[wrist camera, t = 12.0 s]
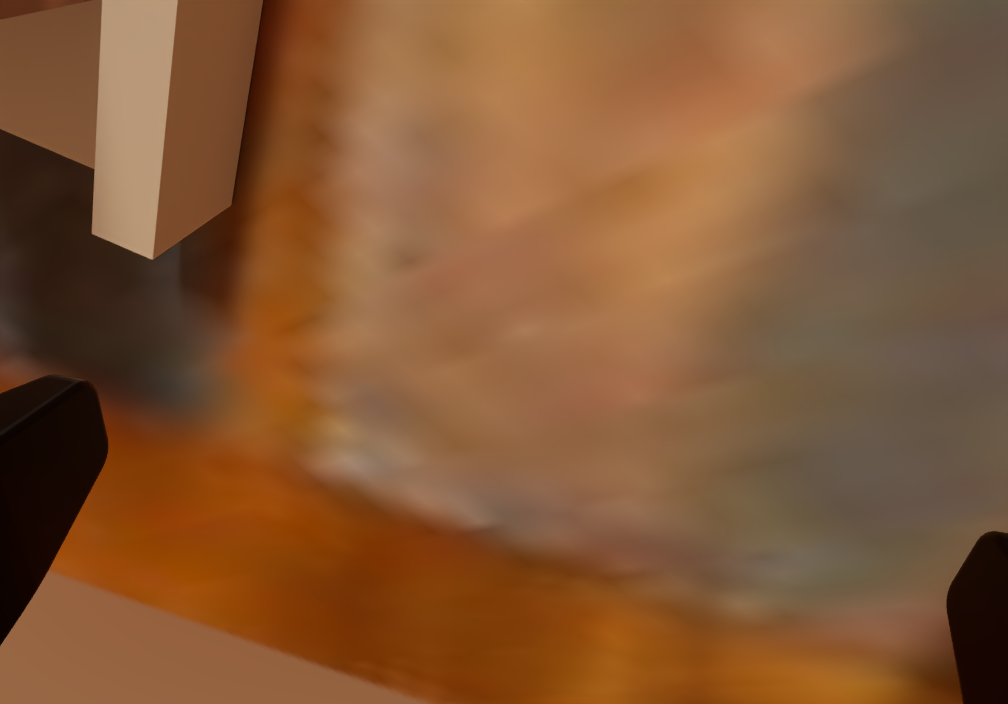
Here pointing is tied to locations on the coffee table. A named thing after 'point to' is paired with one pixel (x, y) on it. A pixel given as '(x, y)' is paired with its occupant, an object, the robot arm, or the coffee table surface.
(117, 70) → the cleat board
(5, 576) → the robot arm
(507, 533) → the coffee table surface
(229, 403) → the coffee table surface
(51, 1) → the block
